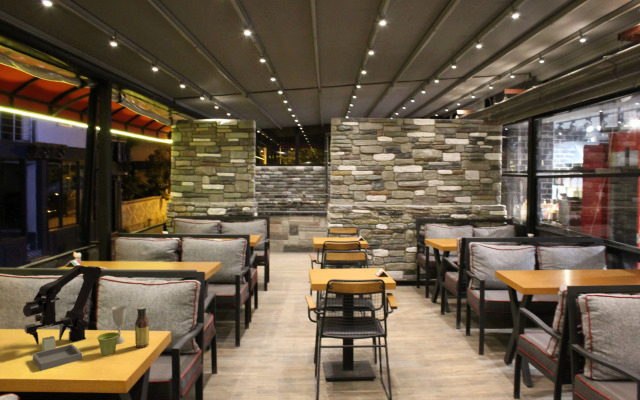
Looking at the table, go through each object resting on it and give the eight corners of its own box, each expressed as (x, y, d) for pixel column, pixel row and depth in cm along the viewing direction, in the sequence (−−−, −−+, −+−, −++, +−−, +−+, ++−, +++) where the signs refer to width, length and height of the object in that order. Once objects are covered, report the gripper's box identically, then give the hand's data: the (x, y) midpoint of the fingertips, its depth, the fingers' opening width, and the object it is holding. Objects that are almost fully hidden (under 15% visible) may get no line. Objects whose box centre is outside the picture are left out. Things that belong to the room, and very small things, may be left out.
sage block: (53, 347, 198) (53, 335, 198) (55, 350, 195) (55, 338, 195) (42, 350, 195) (42, 338, 195) (44, 352, 192) (44, 340, 192)
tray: (72, 350, 195) (72, 344, 195) (82, 359, 184) (81, 353, 184) (32, 359, 184) (32, 353, 184) (40, 370, 173) (40, 364, 173)
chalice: (130, 340, 208) (129, 306, 207) (119, 345, 201) (119, 310, 201) (119, 339, 210) (118, 305, 210) (108, 343, 204) (108, 308, 203)
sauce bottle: (138, 343, 203) (137, 305, 203) (150, 343, 204) (150, 305, 203) (133, 349, 197) (133, 309, 196) (146, 348, 197) (145, 309, 197)
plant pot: (123, 351, 194) (123, 333, 194) (105, 358, 185) (105, 340, 185) (110, 348, 198) (110, 331, 198) (92, 355, 189) (92, 337, 189)
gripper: (65, 303, 207) (66, 333, 207) (21, 311, 194) (22, 343, 194) (72, 308, 199) (72, 338, 200) (26, 316, 186) (27, 349, 186)
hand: (49, 342), depth 195 cm, fingers open, 9 cm apart
